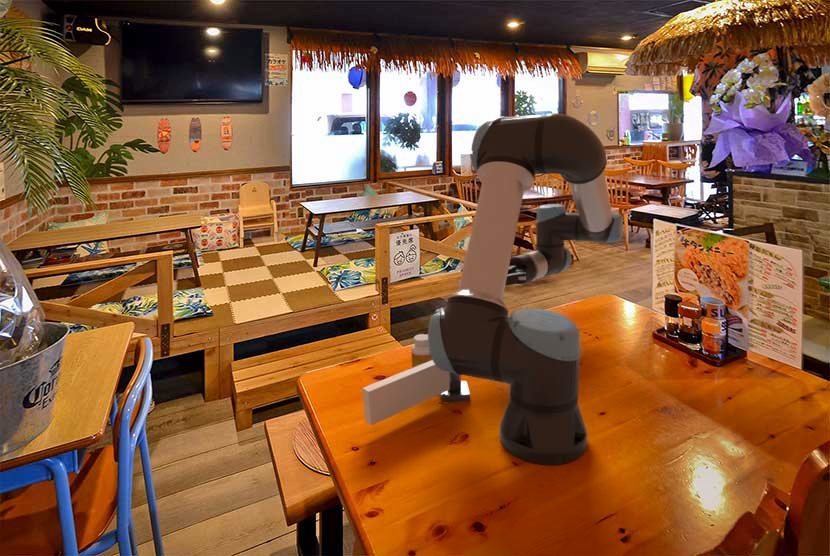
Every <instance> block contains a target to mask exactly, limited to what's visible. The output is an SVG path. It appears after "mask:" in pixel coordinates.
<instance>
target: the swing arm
mask: <svg viewBox="0 0 830 556" xmlns="http://www.w3.org/2000/svg"><path fill="white" fill-rule="evenodd" d="M361 389H362V398H363V407H364V408H363V410H364V420H365V423H367V424H368V425H370V427H371V426H374V425H375V424H377V423H380V422H382V421H385V420H387V419H389V418H391V417H394V416H395V415H398V414H400V413H402V412H404V411H406V410H409V409H411V408H413V407H415V406H417V405H419V404H421V403H424V402H425V401H428V400H430V399H432V398H434V397H437V396H440V394H441V393H443V392H446V391H448V390H450V384H449V372H447V371H443V370H441V369H439V368H438V367H437V366H436V365H435V364H434V362H433V360H431V361H429V362H426V363H424V364H421V365H419V366H416V367H414V368H409V369H406V370H404V371H401V372H399V373H396V374H394V375H391V376H389V377H387V378H384V379H382V380H379V381H377V382H374V383H372V384H368V385H367V386H364V387H363V388H361Z"/></svg>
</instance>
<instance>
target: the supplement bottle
mask: <svg viewBox="0 0 830 556" xmlns="http://www.w3.org/2000/svg"><path fill="white" fill-rule="evenodd" d="M410 350H411V351H410V353H411V367H412V368H414V367H416V366H419V365H421V364H424V363H426V362H429V361H431V360H432V358H431V355H430V351H429V345H428V333H427V334H424V333H419V334H416V335H415V336H414V337H413V345H412V346H411V349H410Z"/></svg>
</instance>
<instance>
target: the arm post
mask: <svg viewBox="0 0 830 556" xmlns="http://www.w3.org/2000/svg"><path fill="white" fill-rule="evenodd" d="M449 384H450V390H448V391H446V392H443V393H441V394H439V396H440V400H441V401H442V402H441V404H445V403H444V402H448V403H449V404H450V403H463V402H471V393H470V389H469V386H468V383H467V380H462V375H457V374H455V373H451V372H449ZM462 401H463V402H462ZM448 403H447V404H448Z"/></svg>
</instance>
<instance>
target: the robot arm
mask: <svg viewBox="0 0 830 556" xmlns="http://www.w3.org/2000/svg"><path fill="white" fill-rule="evenodd" d="M471 151H472V152H471V155H470V157H471V159H470V160H471V165H472V169H473V170H474V171H475V173H476V176H477V179H478V180H479V182H481V185H480V191H479V195H478V200H477V205H476V209H475V214H474V218H473V223H472V227H471V231H470V235H469V240H468V245H467V250H466V253H465V258H464V263H463V266H462V271H461V276H460V280H458V289H457V290H456V291H455V292H454V293H452V294H451V295H449V296H448V297H447V301H446V305H445V307H441V308H438V309H436V310H435V311H433V315H431V318H430V321H429V323H428V324H429V325H428V331H427V335H428V345H429V351H430V355H431V358H432V360H433V362H434V364H435V365H436V366H437V367H438V368H439V369H441V370H443V371H447V372H451V373H455V374H457V375H461V376H462V375H463V376H467V377H471V378H472V377H473V378H475V379H476V378H477V379H482V380H489V381H493V382H500V383H502V384H503V383H504V384H508V385H509V399H508V402H507V405H506V407H505V410H504V413H503V416H502V418H501V421H500V425H499V430H500V431H499V438H500V442H501V444H502V445H503V447H504V449H506V450H507V451H508V452H509V453H511V455H513V456H514V457H517V458H519V459H521V460H523V461H526V462H529V463H533V464H538V465H547V466H549V465H550V466H551V465H562V464H567V463H571V462H573V461H575V460H577V459H579V458H580V457H581V456H583V454H584V453H585V452H586V450H587V445H588V443H587V442H588V431H587V427H586V425H585V424H586V423H585V421H584V419H583V416H582V413H581V409H580V406H579V385H580V382H579V380H580V361H581V360H580V359H581V356H582V350H581V348H582V347H581V335H580V331H579V328H578V326H577V325H576V323H575V322H574V321H572V320H571V319H570V318H568V317H567V316H565V315H563V314H561V313H558V312H556V311H552V310H548V309H547V310H546V309H541V308H531V309H529V308H521V309H518V310H515V311H513V312H512V313H511V314H510V316H509V309H508V307H507V305H506V304H505V302H504V300H503V297H504V292H505V289H506V286H510V285H523V284H527V283H529V282H531V281H532V282H535V281H536V280H538V279H541V278H544V277H548V276H552V275H556V274H560V273H561V272H563V271H565V270H567V269H568V268H570V265H571V263H572V254H571V251H570V250H569V248H568V247H567V246H565V241H571V242H572V241H573V242H589V243H592V242H593V243H605V244H607V243H619V242H620V241H621V240H622V236H623V232H624V231H623V229H624V217H623V215H622V214H621V213H615V212H612V206H611V203H610V197H609V193H608V192H609V191H608V187H607V183H606V182H607V181H606V177H605V173H604V172H605V171H606V168H607V164H608V163H607V162H608V161H607V154H606V150H605V147H604V145H603V143H602V141H601V139H600V138H599V136H598V135H597V134H596V133H595V132H594V131H593V130H592V129H591V128H590V126H588V125H586V124H585V123H584V122H582V121H581V120H579V119H577V118H575V117H572V116H570V115H568V114H563V113H556V112H555V113H548V114H535V115H534V114H532V115H521V116H520V115H519V116H503V115H502V116H500V117H495V118H488V119H486V120H484V121H483V122H482V123H481V124H480V125H478V128H477V129H476V132H475V133H474V136H473V139H472V144H471ZM548 174H555V175H560V176H561V178H562V179H563V180H564V181H565V182H567V184H568V187H569V190H570V192H571V196H572V199H573V201H574V204H575V208H576V210H577V212H567V211H566V207H565V205H564V204H557V203H548V204H541V205H539V206H538V207H537V210H536V221H535V224H536V225H535V227H536V228H535V229H536V231H535V234H536V235H535V238H536V241H535V243H536V244H535V250H534V251H529V252H524V253H523V254H520V255H515V256H512V253H513V247H514V243H515V238H516V233H517V229H518V223H519V218H520V212H521V209H522V208H521V207H522V204H523V198H524V193H525V192H526V191H527V190H529V189H531V188H532V186H533V185H534V182H535V181H534V180H535V176H536V175H548ZM508 316H509V317H508Z"/></svg>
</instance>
